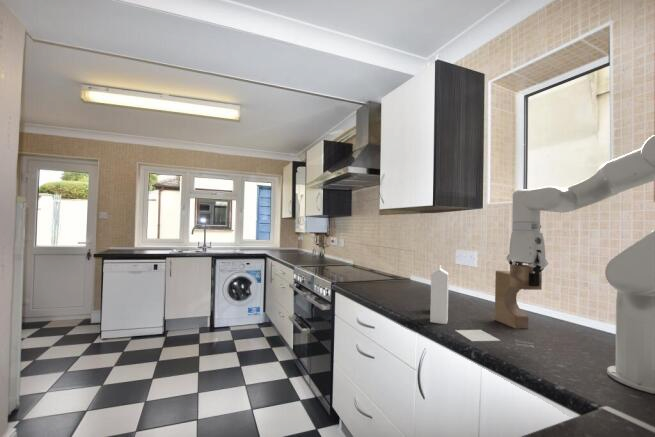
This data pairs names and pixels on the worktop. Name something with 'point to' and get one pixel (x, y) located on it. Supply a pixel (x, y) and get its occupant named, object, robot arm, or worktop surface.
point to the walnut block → (522, 277)
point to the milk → (439, 296)
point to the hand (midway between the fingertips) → (525, 283)
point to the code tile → (524, 345)
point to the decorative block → (508, 302)
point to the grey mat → (477, 335)
